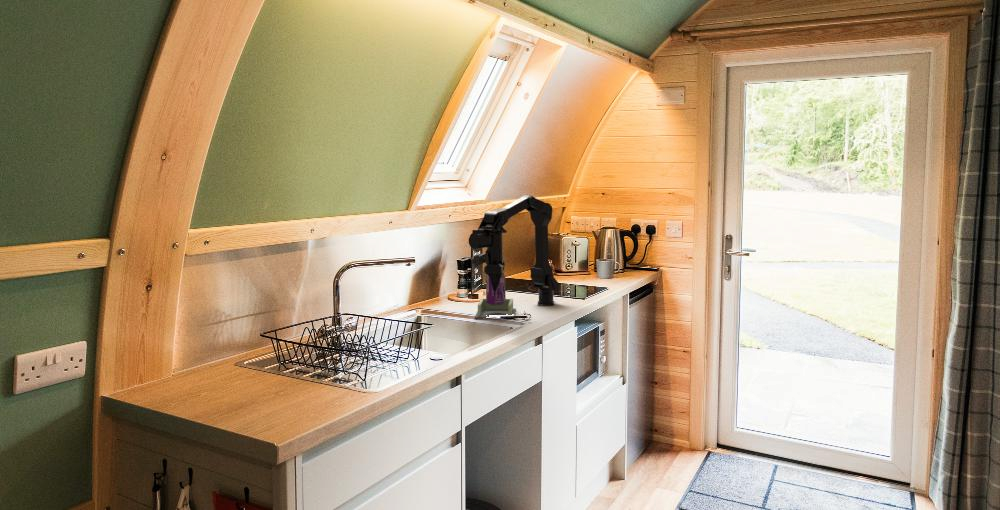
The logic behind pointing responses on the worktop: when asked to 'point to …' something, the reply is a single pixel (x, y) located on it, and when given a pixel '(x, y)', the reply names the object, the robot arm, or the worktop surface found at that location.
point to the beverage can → (495, 292)
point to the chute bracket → (494, 309)
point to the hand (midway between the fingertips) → (495, 288)
